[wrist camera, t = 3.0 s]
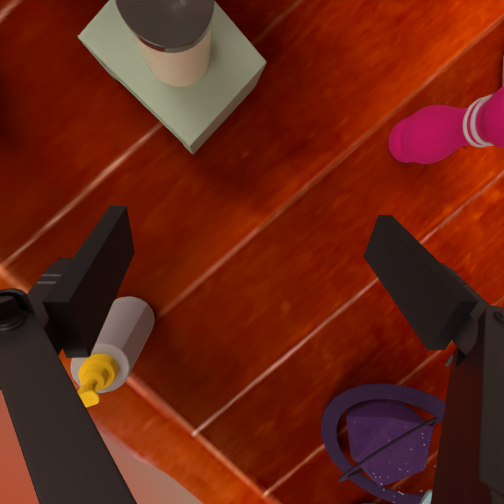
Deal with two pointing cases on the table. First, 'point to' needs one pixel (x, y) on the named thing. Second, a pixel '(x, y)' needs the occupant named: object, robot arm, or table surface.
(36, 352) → the robot arm
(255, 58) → the small table
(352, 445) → the purple faceted sculpture
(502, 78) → the white curved piece
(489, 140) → the pepper mill
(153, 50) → the jar
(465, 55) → the table surface
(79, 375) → the soap bottle
